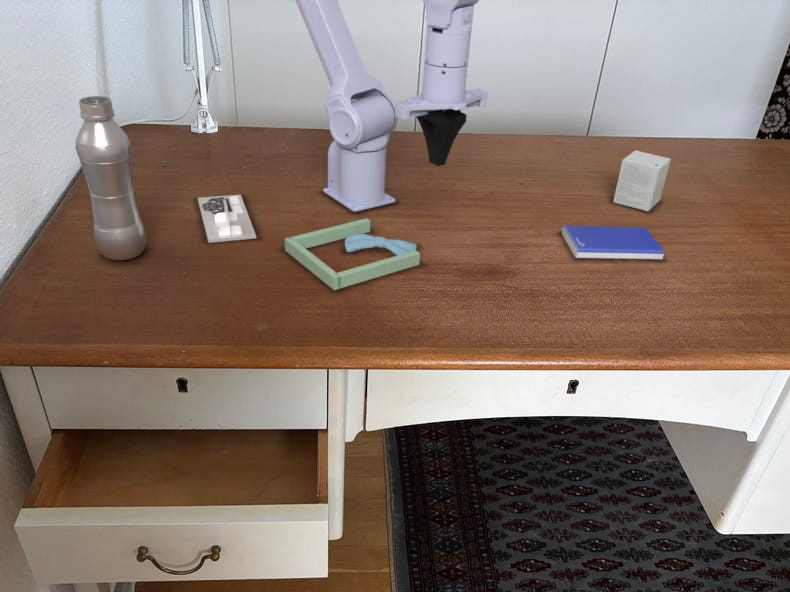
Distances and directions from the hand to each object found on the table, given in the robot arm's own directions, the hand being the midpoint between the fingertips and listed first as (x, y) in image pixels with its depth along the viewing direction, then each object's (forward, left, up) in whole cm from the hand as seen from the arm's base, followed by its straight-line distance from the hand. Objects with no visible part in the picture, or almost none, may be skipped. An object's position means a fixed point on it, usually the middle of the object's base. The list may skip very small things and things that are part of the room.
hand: (437, 163), depth 102 cm
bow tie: (+3, -11, -10) cm, 15 cm away
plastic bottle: (-13, -42, -10) cm, 45 cm away
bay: (+3, -16, -9) cm, 19 cm away
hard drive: (+19, +18, -10) cm, 28 cm away
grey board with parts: (-17, -26, -10) cm, 32 cm away
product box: (+10, +35, -10) cm, 38 cm away
